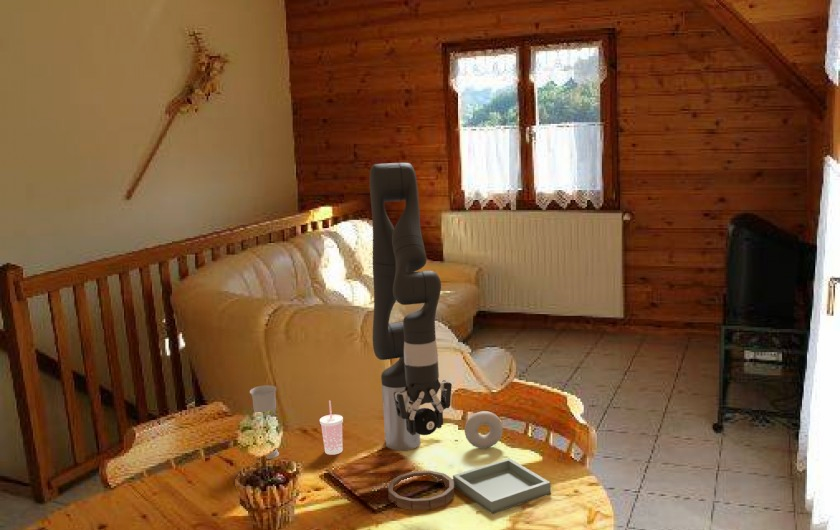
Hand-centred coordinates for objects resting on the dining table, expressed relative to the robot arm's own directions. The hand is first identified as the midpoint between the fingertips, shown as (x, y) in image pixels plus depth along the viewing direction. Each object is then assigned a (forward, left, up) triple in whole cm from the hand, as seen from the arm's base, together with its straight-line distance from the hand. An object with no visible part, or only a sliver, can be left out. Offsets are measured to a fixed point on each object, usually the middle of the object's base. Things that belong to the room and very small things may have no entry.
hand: (425, 430), depth 184 cm
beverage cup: (-36, -8, -16) cm, 40 cm away
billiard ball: (0, 0, -1) cm, 1 cm away
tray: (+8, +15, -15) cm, 23 cm away
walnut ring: (-1, -1, -15) cm, 16 cm away
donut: (-14, +25, -16) cm, 32 cm away
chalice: (-44, -23, -16) cm, 52 cm away
